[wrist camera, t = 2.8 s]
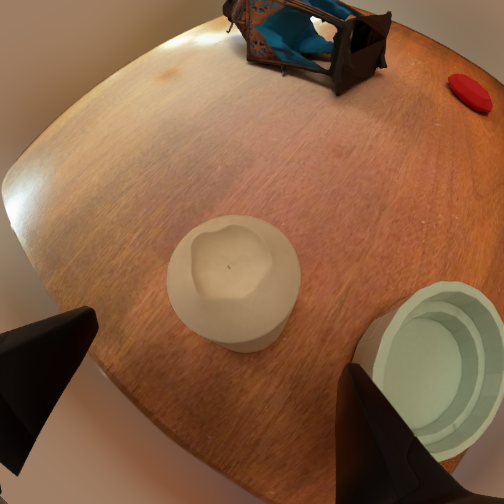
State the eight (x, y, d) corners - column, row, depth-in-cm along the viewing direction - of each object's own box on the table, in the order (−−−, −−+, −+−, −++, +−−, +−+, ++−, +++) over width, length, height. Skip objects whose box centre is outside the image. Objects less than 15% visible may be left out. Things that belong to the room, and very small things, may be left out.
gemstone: (460, 108, 28) (467, 94, 26) (438, 77, 32) (443, 64, 29) (496, 121, 28) (503, 110, 25) (473, 90, 31) (478, 79, 29)
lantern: (359, 119, 35) (233, 59, 41) (405, 39, 26) (272, -8, 33) (331, 95, 22) (167, 35, 28) (397, -19, 13) (218, -50, 19)
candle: (251, 369, 17) (235, 373, 8) (191, 318, 19) (126, 270, 10) (302, 307, 19) (334, 248, 10) (241, 261, 21) (222, 174, 11)
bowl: (418, 467, 13) (452, 484, 8) (313, 398, 16) (328, 408, 12) (486, 348, 16) (524, 338, 12) (399, 273, 20) (430, 246, 15)
